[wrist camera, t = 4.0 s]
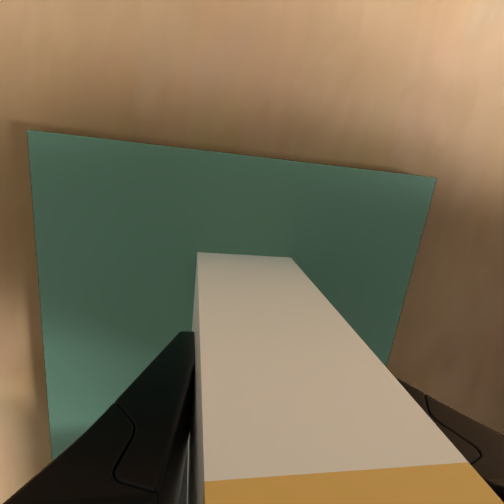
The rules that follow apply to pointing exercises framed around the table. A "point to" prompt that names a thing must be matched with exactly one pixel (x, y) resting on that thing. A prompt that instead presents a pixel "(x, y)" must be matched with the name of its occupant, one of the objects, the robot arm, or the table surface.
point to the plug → (303, 402)
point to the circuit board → (196, 250)
